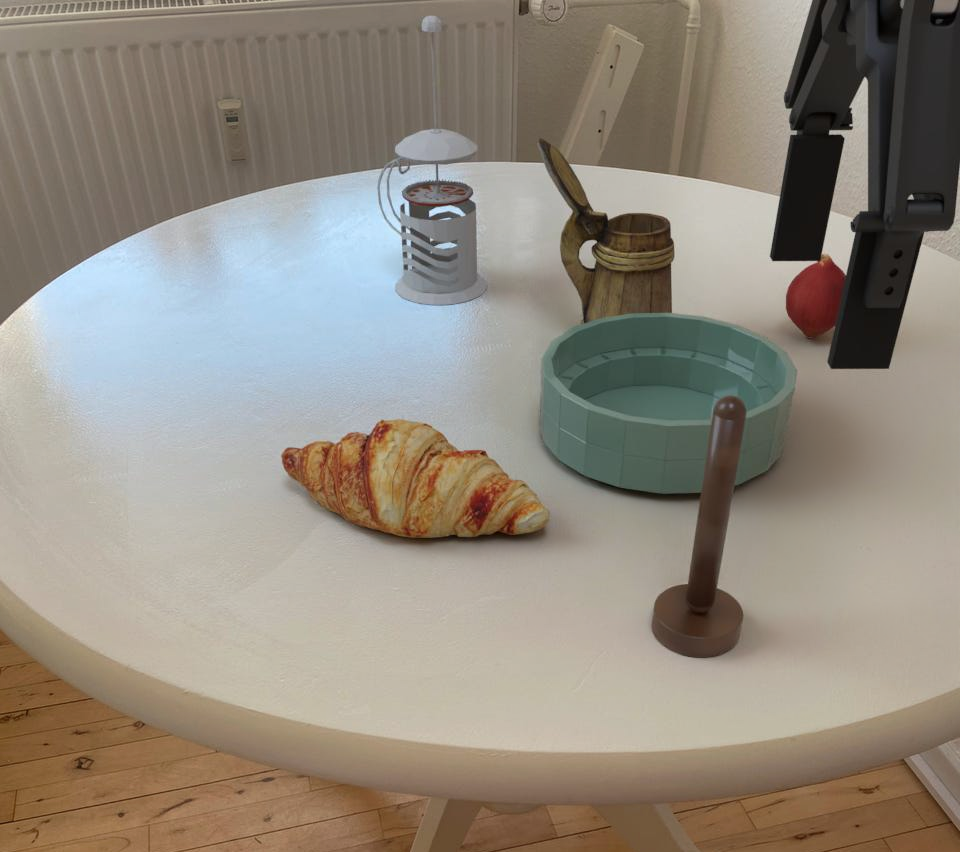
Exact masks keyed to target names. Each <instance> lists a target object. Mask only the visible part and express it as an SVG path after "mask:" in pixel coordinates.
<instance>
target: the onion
mask: <svg viewBox="0 0 960 852" xmlns="http://www.w3.org/2000/svg"><path fill="white" fill-rule="evenodd" d="M845 278H846V274H845V272H844V271H843V269H841V268H840V267H839V266H838V265H837V264H836V263H835V262H834V260H833V259H832V257H831V256H830V254H828V253H822V255H821V260H820V261H816V262H815V263H812V264H809V265H808V266H806V267H805V268H803V269H802V270H801V271H800V272H799V273H797V275H796V276H795V277H794V278H793V279H792V281H791V282H790V284H789V286H788V287H787V291H786V293H785V311H786V313H787V316H788V318H789V319H790V320H791V322H792V323H793V324H794V325H795V326H796V327H797V328H798V329H799V330H800V331H801V332H802V334H803V335H804V336H805V337H806V338H807V339H814V338H817V337H818V336H821V335H824V334H825V333H828V332H830V331H831V330H832V329H835V324H836V319H837V315H838V310H839V306H840V301H841V297H842V292H843V287H844V283H845Z"/></svg>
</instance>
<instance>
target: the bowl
mask: <svg viewBox="0 0 960 852" xmlns="http://www.w3.org/2000/svg"><path fill="white" fill-rule="evenodd" d="M540 361H541V365H540V399H539V427H540V434H541V439H542V442H543V443H544V445H545V446H546V447H547V448H548V450H549V451H550V452H551V453H552V454H553V456H554V457H555V458H556V459H557V460H558V461H559V462H561V463H562V464H564V465H565V466H568V467H569V468H571V469H572V470H574V471H576V472H578V473H579V474H580V475H582V476H584V477H586V478H590V479H591V480H592V479H593V480H595V481H598V482H601V483H605V484H608V485H611V486H613V487H616V488H619V489H627V490H633V491H640V492H641V491H642V492H647V493H654V494H661V495H666V494H701V491H702V484H703V477H704V470H705V463H706V457H707V450H708V443H709V436H710V429H711V423H712V416H713V409H714V406H715V404H716V403H717V402H718V400H720V399H721V398H723V397H725V396H730V395H732V396H736V397H739V398H740V399H741V400H742V401H743V402H744V403H745V406H746V409H747V413H746V420H745V426H744V432H743V438H742V443H741V449H740V455H739V461H738V467H737V473H736V479H735V485H734V487H736V486H739V485H741V484H743V483H745V482H747V481H749V480H752V479H753V478H755V477H758V476H759V475H761V474H763V473H765V472H767V471H768V470H769V469H770V468H771V467H772V465H774V463H775V462H776V461H777V460H778V459H779V458H780V457H781V455H783V451H784V445H785V440H786V435H787V430H788V425H789V421H790V416H791V411H792V410H791V409H792V405H793V399H794V394H795V392H796V391H795V390H796V384H797V383H796V382H797V375H798V369H797V368H796V366H795V364H794V362H793V361H792V359H791V357H790V355H789V354H788V352H787V351H786V350H784V349H783V348H782V347H780V346H779V345H778V344H776V343H775V342H773V341H772V340H771V339H770V338H768V337H767V336H764V335H763V334H759V333H757V332H755V331H752V330H751V329H748V328H745V327H743V326H742V325H738V324H735V323H731V322H728V321H724V320H720V319H715V318H711V317H708V316H707V317H706V316H703V315H693V314H685V313H683V314H682V313H674V312H672V313H631V314H625V315H619V316H612V317H606V318H600V319H596V320H593V321H590V322H587V323H585V324H582V325H580V324H579V325H577V326H574V327H570V328H568V329H567V330H565V331H564V332H563V333H561V334H560V335H558V336H557V337H556V338H554V339H553V340H551V341H550V342H549V345H548V347H547V348H546V350H545V352H544V354H543V356H542V357H541V359H540Z"/></svg>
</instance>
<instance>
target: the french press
mask: <svg viewBox="0 0 960 852" xmlns="http://www.w3.org/2000/svg"><path fill="white" fill-rule="evenodd" d="M442 30H443V26H442V21H441V19H439V17H438V16H436V15H426V16H425V17H424V18H423V19H422V22H421V31H422V32H425V33H430V40H431V41H430V42H431V43H430V44H431V71H432V73H431V74H432V96H433V97H432V98H433V99H432V100H433V102H432V103H433V123H434V124H433V127H434V128H431V129H422V130H420V131H418V132H415V133H412V134H411V135H408V136H406V137H404V138H403V139H401V141H400V142H399V143H397V144H396V145H395V146H394V153H395V154H396V155H397V156H398V158H394V159H392V160H391V161H390V162H388V163H387V164H385V166H384V167H383V168H381V171H380V174H379V176H378V180H377V186H376V189H377V199H378V206H379V208H380V211H381V214H382V216H383V219H384V220H385V222H386V223H387V224H388V226H389V227H390V228H391V229H392V230H394V231H395V232H396V233H397V235H399V236H400V237H401V249H402V263H403V264H402V266H403V268H402V269H403V275H402V277H400V279H398V281H397V282H396V283H394V288H395V289H394V290H395V293H396V294H397V295H398V296H400V298H402V299H404V300H407V301H410V302H413V303H416V304H422V305H429V306H443V305H445V306H446V305H447V306H448V305H455V304H461V303H465V302H470V301H471V300H474V299H476V298H478V297H480V296H482V295H483V294H484V292H485V291H486V290H487V289H488V285H487V281H486V280H485V278H483V277H482V276H481V275H480V274H478V245H477V244H478V242H477V239H478V238H477V237H478V235H477V232H478V231H477V205H476V202H475V201H473V200H471V198H472V197H473V195H474V189H473V188H472V186H470V185H468V183H464V182H461V181H456V180H454V181H453V180H449V179H448V180H447V179H443V178H442V179H441V180H440V179H439V166H441V165H442V166H443V165H446V166H447V165H452V164H458V163H462V162H465V161H468V160H471V159H472V158H473V157H474V156H476V154H477V152H478V151H479V149H478V144H476V143H475V142H474V141H472V140H471V139H469V138H468V137H467V136H464V135H462V134H460V133H458V132H456V131H453V130H448V129H443V128H438V127H437V125H438V124H437V102H436V101H437V99H436V72H435V71H436V69H435V45H434V42H435V41H434V40H435V39H434V33H436V32H442ZM401 160H404V161H406V162H407V163H406V165H407V166H406V169H405V170H402V163H401V162H400V161H401ZM411 163H413V164H420V165H421V164H422V165H435V180H434V179H432V180H431V179H429V180H427V179H426V180H422V181H421V180H420V181H417V182H414V183H410V184H408V185H406V186H405V188H403V189H402V191H401V192H402V193H401V196H402V198H403V199H404V200H405V201H407V202H408V213H409V214H406V207H405V206H406V205H405V203H406V202H403V203H402V204H401V205H400V206H399V214H400V215H398V214H397V213H396V210H395V208H394V206H393V203H392V202H393V201H392V199H391V195H390V178H391V173H392V172H393V171H392V170H393V168H394V167H395V166H396V164H397V167H398V172H399V174H400V175H404V174H406V173H407V172H408V171H409V170H410V168H411ZM388 167H389V170H388V173H387V176H386V196H387V201H388V203H389V207H390V208H391V212H392V214H393V216H394V217H395V219H396V220H397V221H398V222H399V224H400V230H398V228H397V227H395V226H394V225H393V224H392V222H390V220H389V219H388V218H387V216H386V213H385V211H384V208H383V203H382V197H381V188H380V187H381V184H382V183H381V182H382V179H383V176H384V173H385V171H386V170H387V169H388ZM449 206H451V207H454V208H457V209H459V210H460V211H461V212H462V213H463V214H464V215H461V214H459V213H456V212H453V211H450V210H447V211H442V212H438V213H435V214H433V215H430V211H432V210H435V209H436V208H442V207H449ZM399 216H400V217H399ZM407 230H408V231H409V232H407ZM408 241H410V245H408ZM449 243H451V244H454V245H455V246H452V247H446V248H442V247H436V246H438V245H443V244H449ZM408 253H409V254H410V255H411V258H410V257H409V255H408ZM409 266H411V269H409Z"/></svg>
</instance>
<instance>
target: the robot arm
mask: <svg viewBox="0 0 960 852" xmlns="http://www.w3.org/2000/svg"><path fill="white" fill-rule="evenodd" d="M865 79H866V80H867V210H860V211H859V212H858V213H857V214H856V215H855V217H854V218H853V219H852V221H850V230H851V232H852V233H854V237H853V241H852V246H851V251H850V256H849V259H848V265H847V269H846V274H845V275H846V278H845V283H844V287H843V292H842V297H841V301H840V306H839V310H838V315H837V319H836V324H835V327H834V328H833V334H832V339H831V342H830V347H829V352H828V355H827V356H828V358H827V361H826V362H827V364H828V366H829V368H830V369H831V370H889V369H890V367H891V362H892V359H893V355H894V351H895V347H896V343H897V339H898V336H899V331H900V328H901V324H902V320H903V316H904V312H905V309H906V304H907V301H908V297H909V294H910V293H909V292H910V289H911V286H912V281H913V277H914V274H915V270H916V266H917V262H918V258H919V255H920V251H921V247H922V242H923V239H924V235H925V233H929V232H948V231H949V230H950V229H951V228H952V227H953V225H954V224H955V223H954V222H955V217H956V209H957V198H958V188H959V177H960V0H811V3H810V7H809V10H808V13H807V18H806V21H805V23H804V28H803V31H802V34H801V37H800V41H799V45H798V48H797V51H796V55H795V58H794V62H793V65H792V69H791V71H790V76H789V79H788V82H787V86H786V89H785V91H784V93H783V103H784V107H785V109H787V110H790V113H789V116H788V124H789V127H790V131H792V132H793V131H794V132H795V131H796V134H790V135H789V141H788V146H787V152H786V159H785V165H784V170H783V176H782V182H781V188H780V193H779V199H778V206H777V212H776V218H775V224H774V229H773V236H772V241H771V247H770V252H769V253H770V254H769V258H770V259H771V262H817V261H820V260H821V255H822V254H823V249H824V244H825V239H826V236H827V235H826V233H827V230H828V225H829V221H830V220H829V218H830V215H831V209H832V205H833V199H834V195H835V190H836V185H837V179H838V174H839V169H840V163H841V159H842V154H843V150H844V145H845V137H844V136H843V135H842V134H839V133H838V134H830V131H852V130H853V129H854V126H853V125H854V121H853V119H854V118H853V113H852V111H853V108H852V107H851V105H852V103H853V102H854V99H855V97H856V95H857V94H858V91H859V89H860V87H861V85H862V83H863V81H864V80H865ZM910 196H912V197H913V198H911V199H909V198H910Z"/></svg>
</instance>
